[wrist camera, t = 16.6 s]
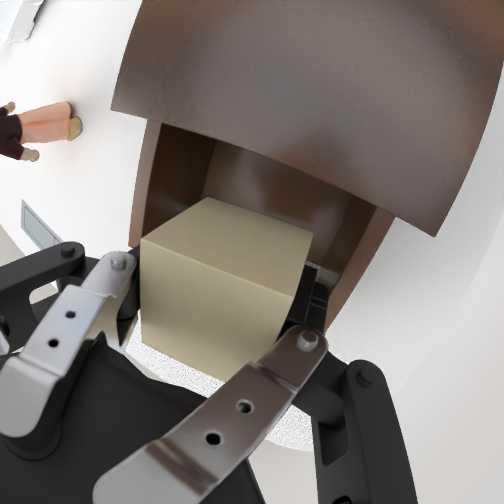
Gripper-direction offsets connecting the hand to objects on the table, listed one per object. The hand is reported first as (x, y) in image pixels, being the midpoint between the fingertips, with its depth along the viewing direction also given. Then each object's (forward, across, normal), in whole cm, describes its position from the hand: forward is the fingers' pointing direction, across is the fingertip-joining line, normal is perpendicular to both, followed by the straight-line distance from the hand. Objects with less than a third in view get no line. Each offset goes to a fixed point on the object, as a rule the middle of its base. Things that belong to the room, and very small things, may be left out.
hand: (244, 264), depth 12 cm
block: (0, 0, 0) cm, 0 cm away
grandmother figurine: (+9, -23, +3) cm, 24 cm away
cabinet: (+9, 0, +12) cm, 15 cm away
